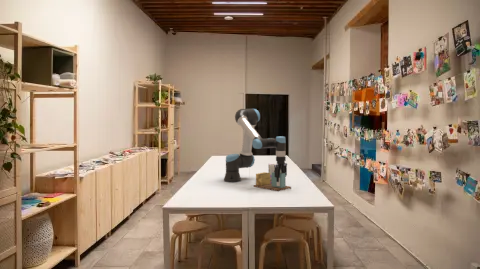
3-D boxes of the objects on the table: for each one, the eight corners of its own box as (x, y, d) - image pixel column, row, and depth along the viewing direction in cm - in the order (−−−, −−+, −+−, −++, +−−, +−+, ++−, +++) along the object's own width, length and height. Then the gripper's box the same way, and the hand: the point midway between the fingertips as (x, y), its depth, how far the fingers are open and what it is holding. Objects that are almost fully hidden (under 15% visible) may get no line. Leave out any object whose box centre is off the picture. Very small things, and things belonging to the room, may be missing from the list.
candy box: (284, 182, 312) (284, 163, 311) (284, 183, 306) (284, 164, 305) (268, 181, 313) (268, 163, 313) (268, 183, 308) (268, 164, 307)
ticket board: (253, 186, 294) (253, 173, 293) (266, 183, 305) (266, 171, 304) (278, 191, 275) (278, 177, 275) (291, 188, 287) (291, 175, 286)
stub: (271, 186, 287) (271, 172, 286) (275, 185, 291) (275, 171, 290) (281, 187, 280) (281, 173, 279) (285, 187, 283) (285, 172, 283)
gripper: (277, 157, 273) (277, 187, 275) (291, 155, 286) (291, 184, 287) (269, 156, 279) (269, 186, 280) (284, 154, 291) (284, 183, 293)
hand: (280, 185), depth 284 cm, fingers closed on stub, 5 cm apart
